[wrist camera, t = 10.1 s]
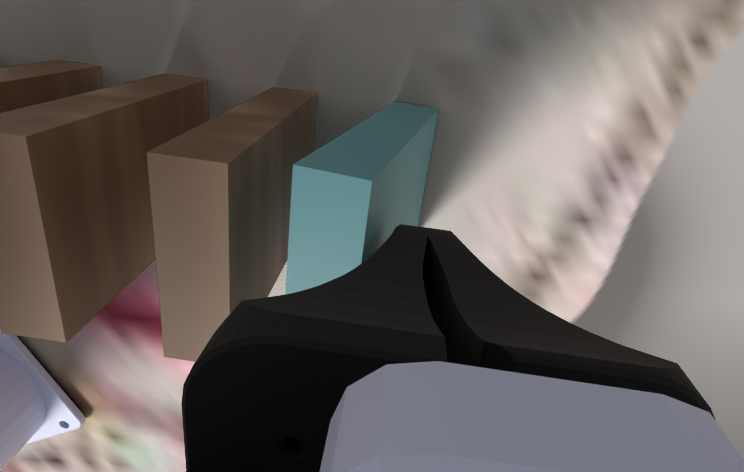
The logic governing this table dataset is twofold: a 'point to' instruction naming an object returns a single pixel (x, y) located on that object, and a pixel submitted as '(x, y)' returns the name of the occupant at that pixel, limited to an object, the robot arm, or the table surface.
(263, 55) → the table surface
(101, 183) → the walnut domino
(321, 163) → the teal domino
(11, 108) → the walnut domino
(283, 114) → the walnut domino
